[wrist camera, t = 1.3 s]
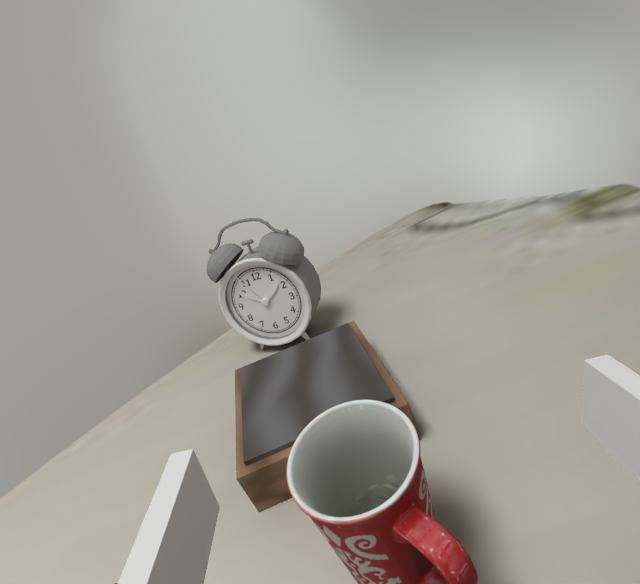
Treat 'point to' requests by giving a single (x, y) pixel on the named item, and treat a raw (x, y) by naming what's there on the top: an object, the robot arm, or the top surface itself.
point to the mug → (374, 497)
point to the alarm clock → (266, 287)
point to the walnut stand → (300, 402)
